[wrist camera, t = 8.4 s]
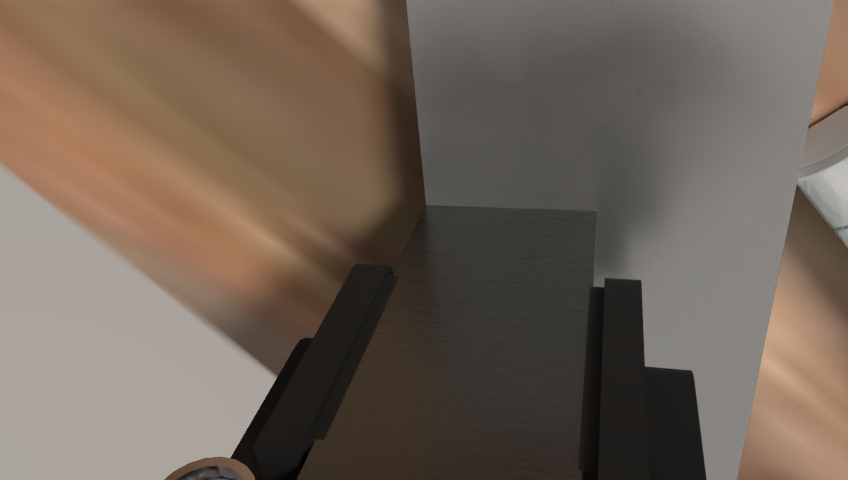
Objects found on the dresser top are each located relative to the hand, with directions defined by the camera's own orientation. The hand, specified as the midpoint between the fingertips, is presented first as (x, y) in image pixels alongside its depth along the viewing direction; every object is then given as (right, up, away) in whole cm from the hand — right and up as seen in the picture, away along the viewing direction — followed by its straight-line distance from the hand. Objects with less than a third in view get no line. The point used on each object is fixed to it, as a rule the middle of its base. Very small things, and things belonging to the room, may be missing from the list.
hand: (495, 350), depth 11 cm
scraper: (+2, +2, +2) cm, 3 cm away
